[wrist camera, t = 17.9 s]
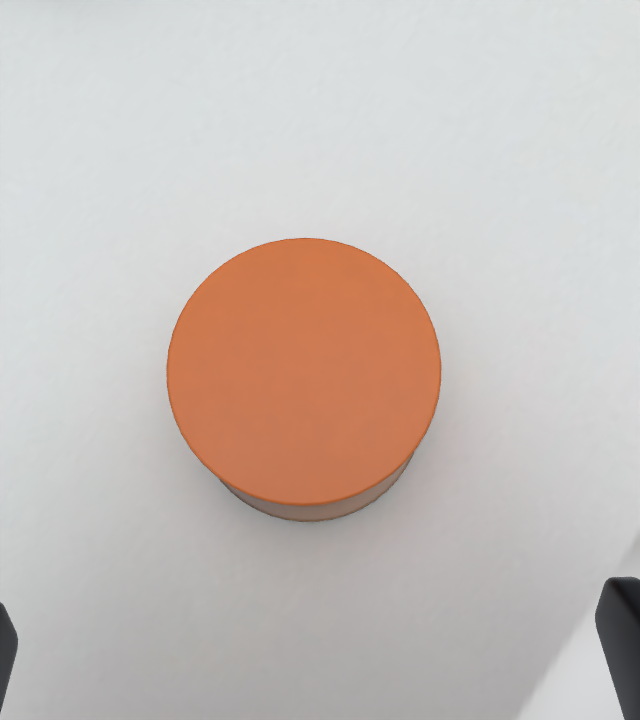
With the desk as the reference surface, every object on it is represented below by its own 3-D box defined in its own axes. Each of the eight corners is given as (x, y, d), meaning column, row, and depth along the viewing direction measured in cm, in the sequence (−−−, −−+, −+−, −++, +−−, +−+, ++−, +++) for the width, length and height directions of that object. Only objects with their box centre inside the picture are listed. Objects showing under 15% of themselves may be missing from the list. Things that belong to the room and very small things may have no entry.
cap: (415, 505, 18) (450, 504, 13) (203, 507, 18) (158, 507, 13) (405, 304, 19) (434, 234, 14) (210, 306, 19) (172, 238, 14)
